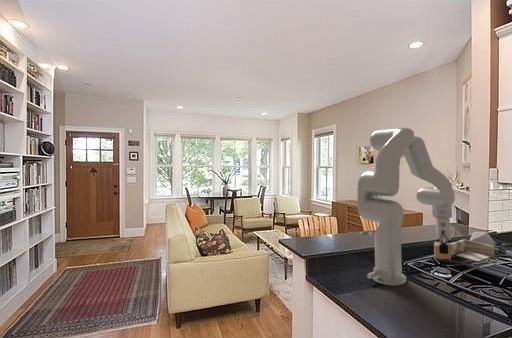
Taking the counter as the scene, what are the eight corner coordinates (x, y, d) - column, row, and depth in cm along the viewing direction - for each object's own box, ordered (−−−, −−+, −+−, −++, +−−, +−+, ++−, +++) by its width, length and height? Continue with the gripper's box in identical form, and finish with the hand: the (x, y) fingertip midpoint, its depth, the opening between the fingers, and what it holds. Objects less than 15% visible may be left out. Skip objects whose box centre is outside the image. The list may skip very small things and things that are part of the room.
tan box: (477, 263, 124) (477, 251, 124) (448, 254, 135) (447, 243, 135) (494, 256, 130) (494, 245, 130) (464, 248, 141) (464, 238, 141)
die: (490, 248, 142) (475, 230, 146) (502, 244, 134) (486, 225, 138) (476, 256, 141) (461, 237, 145) (487, 253, 133) (471, 233, 137)
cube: (450, 260, 129) (450, 247, 128) (435, 258, 132) (434, 245, 131) (449, 255, 134) (449, 243, 134) (434, 254, 137) (434, 241, 137)
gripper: (454, 218, 122) (454, 257, 124) (450, 209, 137) (450, 244, 139) (433, 217, 126) (434, 255, 127) (431, 208, 141) (432, 242, 142)
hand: (442, 249), depth 133 cm, fingers open, 9 cm apart
